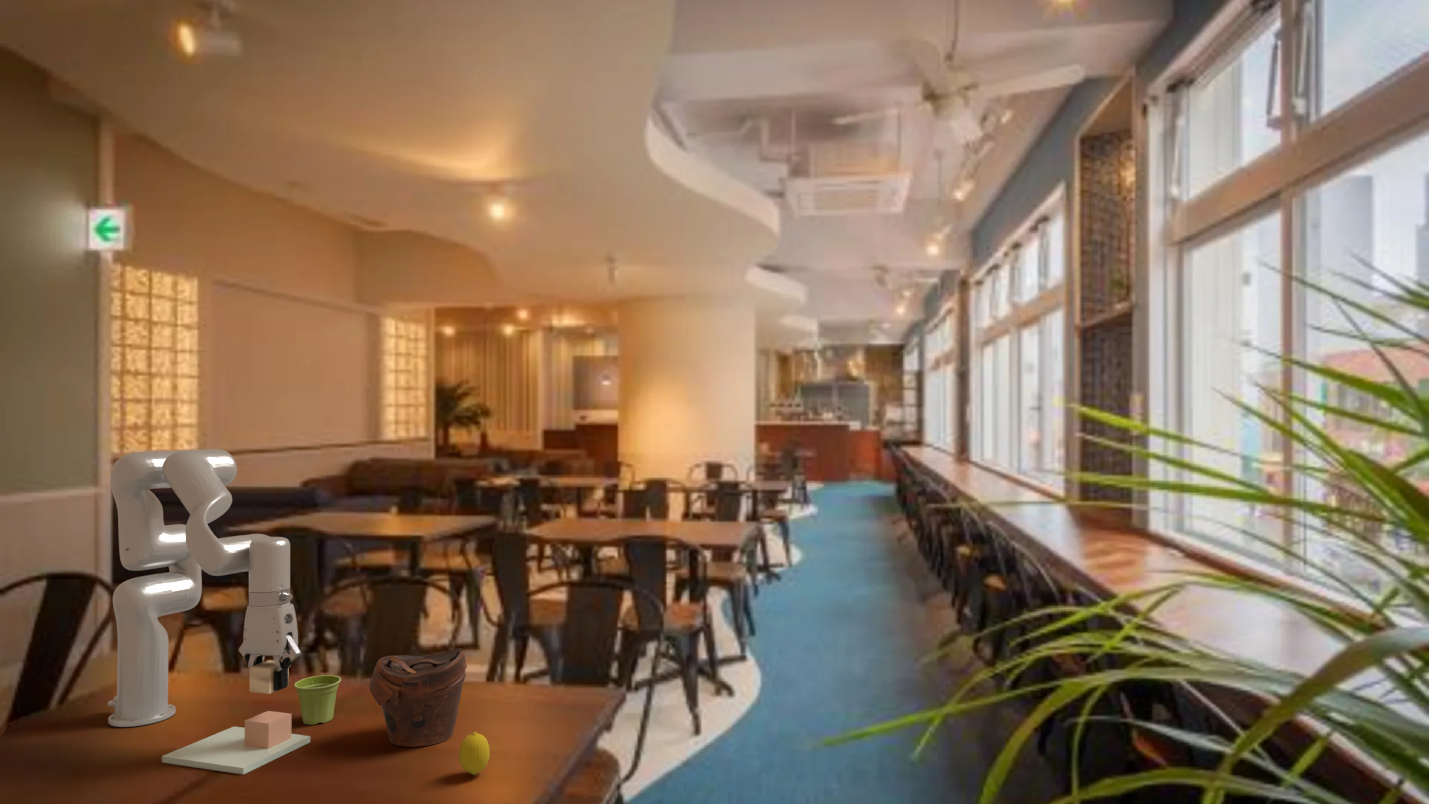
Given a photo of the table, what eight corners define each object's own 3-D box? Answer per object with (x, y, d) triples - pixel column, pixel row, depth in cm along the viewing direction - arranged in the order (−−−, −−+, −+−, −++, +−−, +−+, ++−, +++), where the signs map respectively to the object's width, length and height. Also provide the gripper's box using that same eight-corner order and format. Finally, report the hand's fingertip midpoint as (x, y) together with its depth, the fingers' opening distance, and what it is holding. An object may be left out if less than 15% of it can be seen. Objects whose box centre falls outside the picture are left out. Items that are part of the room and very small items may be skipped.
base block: (244, 745, 172) (244, 720, 172) (267, 735, 178) (268, 710, 178) (268, 748, 170) (268, 723, 170) (291, 738, 176) (291, 713, 176)
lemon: (462, 769, 163) (462, 727, 163) (491, 768, 163) (492, 726, 164) (456, 781, 157) (456, 738, 158) (486, 780, 158) (486, 737, 158)
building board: (161, 762, 167) (161, 756, 167) (234, 732, 183) (234, 726, 183) (243, 774, 161) (243, 768, 161) (310, 742, 177) (310, 736, 177)
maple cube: (269, 684, 177) (269, 660, 177) (288, 686, 176) (288, 662, 176) (249, 691, 173) (249, 667, 173) (269, 693, 171) (269, 668, 171)
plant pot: (322, 729, 184) (323, 689, 185) (284, 726, 186) (284, 686, 187) (349, 714, 194) (349, 676, 194) (312, 712, 195) (313, 674, 196)
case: (353, 738, 179) (355, 652, 179) (440, 715, 193) (442, 635, 194) (393, 763, 167) (395, 671, 167) (483, 736, 181) (485, 651, 182)
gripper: (317, 596, 176) (317, 685, 175) (251, 592, 181) (251, 679, 180) (289, 604, 169) (289, 697, 168) (221, 600, 174) (221, 690, 173)
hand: (269, 687), depth 174 cm, fingers closed on maple cube, 5 cm apart
